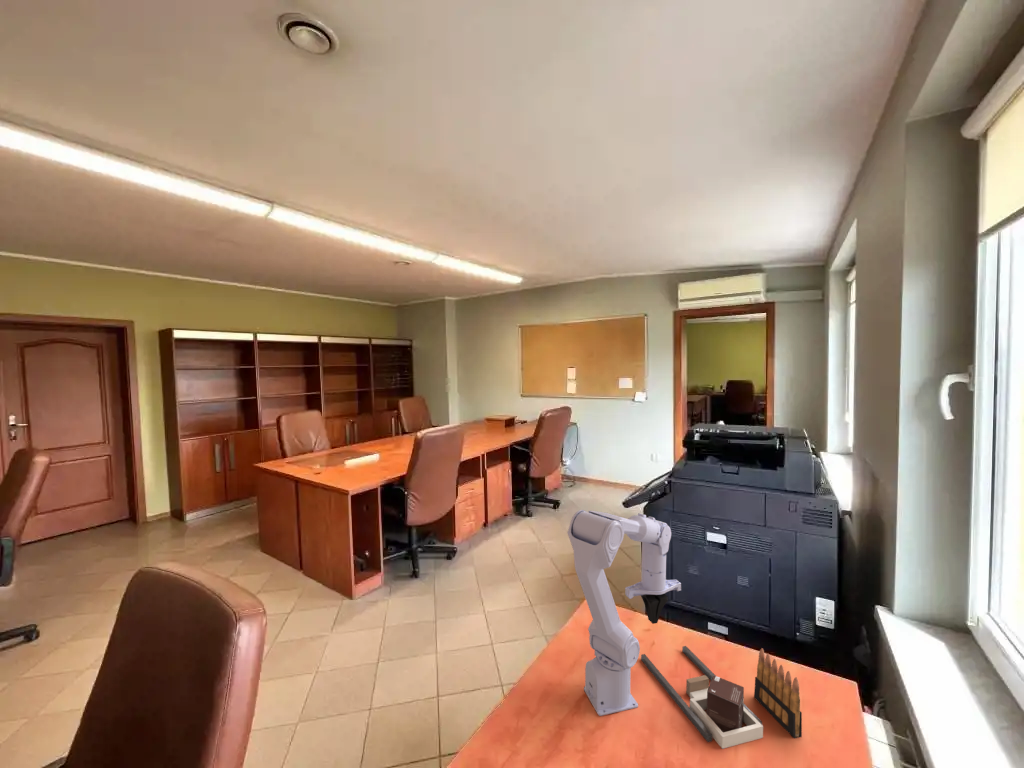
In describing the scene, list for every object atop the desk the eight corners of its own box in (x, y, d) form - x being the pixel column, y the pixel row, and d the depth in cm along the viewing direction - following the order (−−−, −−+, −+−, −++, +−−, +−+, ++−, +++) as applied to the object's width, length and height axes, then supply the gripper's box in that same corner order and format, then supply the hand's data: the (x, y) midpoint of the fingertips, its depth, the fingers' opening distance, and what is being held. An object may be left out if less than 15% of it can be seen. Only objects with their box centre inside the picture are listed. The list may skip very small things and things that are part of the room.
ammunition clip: (753, 697, 95) (755, 646, 94) (760, 696, 95) (762, 644, 95) (794, 739, 84) (796, 681, 84) (802, 737, 85) (804, 680, 84)
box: (738, 741, 84) (739, 705, 83) (705, 725, 87) (706, 691, 87) (743, 720, 89) (744, 686, 88) (712, 706, 92) (713, 673, 92)
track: (707, 743, 84) (707, 735, 83) (641, 660, 107) (641, 654, 107) (761, 728, 87) (762, 721, 87) (685, 651, 110) (685, 645, 110)
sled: (722, 748, 82) (722, 733, 82) (677, 694, 95) (677, 681, 95) (762, 737, 84) (763, 722, 84) (713, 686, 98) (713, 673, 98)
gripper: (669, 557, 111) (668, 607, 112) (619, 564, 107) (618, 616, 108) (687, 570, 104) (685, 623, 105) (634, 577, 100) (633, 633, 101)
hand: (652, 621), depth 106 cm, fingers closed
